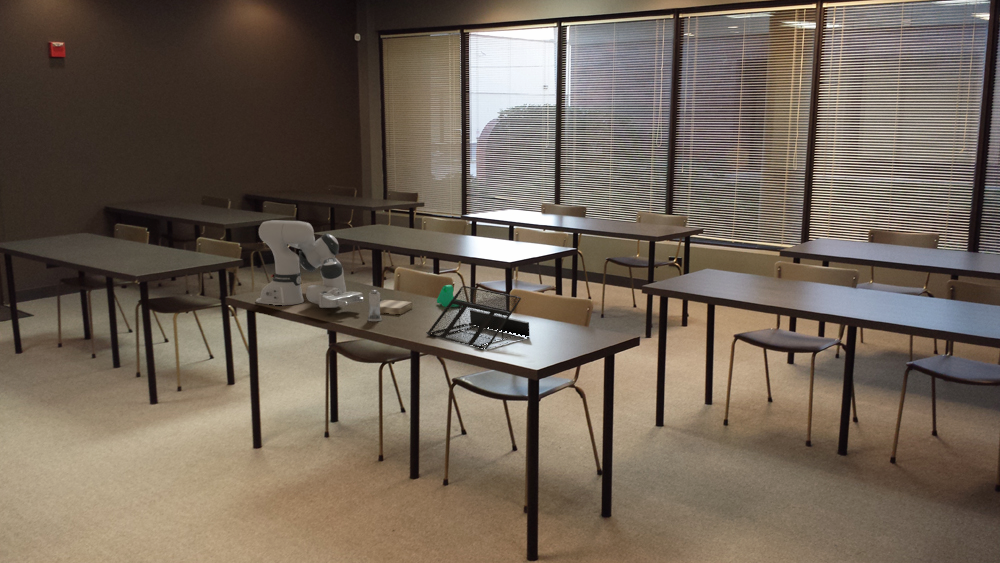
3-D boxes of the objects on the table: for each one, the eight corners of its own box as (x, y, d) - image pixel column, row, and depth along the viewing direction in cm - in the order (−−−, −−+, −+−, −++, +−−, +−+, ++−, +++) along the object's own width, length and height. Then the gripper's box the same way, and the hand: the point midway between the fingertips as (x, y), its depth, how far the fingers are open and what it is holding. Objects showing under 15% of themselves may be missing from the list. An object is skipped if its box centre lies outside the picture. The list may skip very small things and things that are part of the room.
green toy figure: (465, 306, 387) (465, 285, 385) (453, 309, 382) (454, 287, 380) (448, 302, 396) (448, 281, 394) (436, 305, 390) (436, 283, 388)
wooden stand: (371, 312, 373) (371, 305, 372) (384, 305, 386) (384, 299, 385) (399, 314, 368) (399, 308, 368) (412, 308, 382) (412, 302, 381)
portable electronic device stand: (424, 336, 334) (424, 292, 330) (472, 325, 354) (472, 283, 351) (483, 352, 312) (484, 305, 309) (530, 339, 332) (531, 295, 329)
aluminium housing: (364, 320, 357) (364, 290, 355) (374, 317, 362) (374, 288, 360) (374, 322, 354) (374, 292, 351) (384, 320, 359) (384, 290, 356)
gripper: (350, 300, 381) (371, 304, 373) (316, 308, 364) (338, 312, 356) (350, 287, 379) (371, 291, 371) (316, 294, 363) (338, 298, 355)
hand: (355, 301), depth 364 cm, fingers open, 8 cm apart
